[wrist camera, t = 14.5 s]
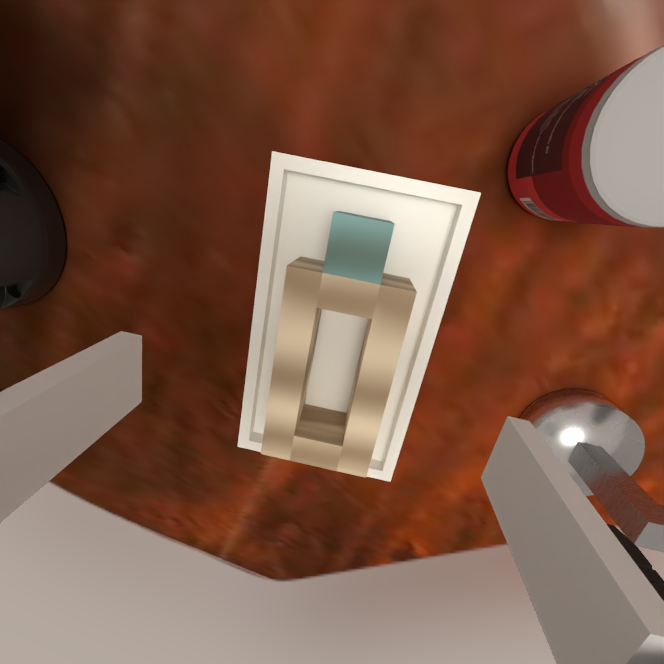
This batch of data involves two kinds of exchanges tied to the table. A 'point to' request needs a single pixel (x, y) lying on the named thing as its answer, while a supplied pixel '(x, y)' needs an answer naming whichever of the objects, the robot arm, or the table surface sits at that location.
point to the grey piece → (600, 457)
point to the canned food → (598, 152)
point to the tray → (343, 329)
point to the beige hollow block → (300, 339)
